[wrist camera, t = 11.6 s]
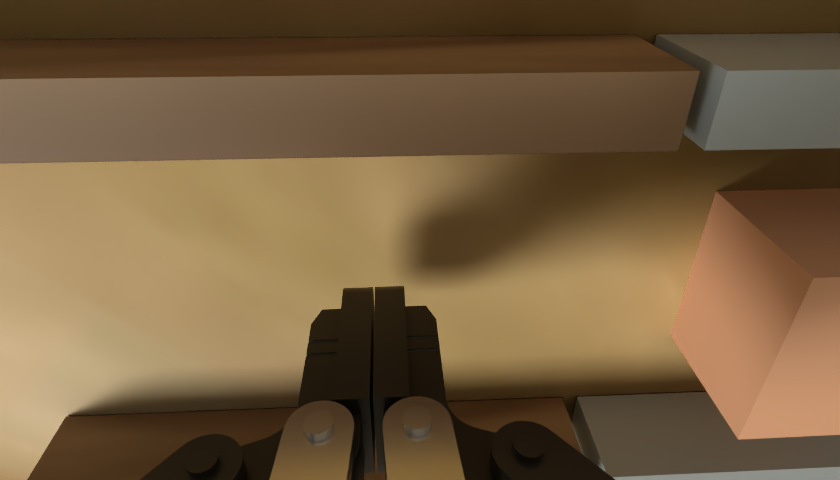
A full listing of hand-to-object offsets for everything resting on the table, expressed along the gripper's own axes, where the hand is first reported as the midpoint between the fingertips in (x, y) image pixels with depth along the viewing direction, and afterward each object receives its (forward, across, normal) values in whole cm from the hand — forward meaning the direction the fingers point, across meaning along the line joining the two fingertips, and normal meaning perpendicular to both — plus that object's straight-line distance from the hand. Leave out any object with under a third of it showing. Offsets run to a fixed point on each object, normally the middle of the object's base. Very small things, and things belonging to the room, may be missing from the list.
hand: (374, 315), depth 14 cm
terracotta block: (+2, -12, 0) cm, 12 cm away
